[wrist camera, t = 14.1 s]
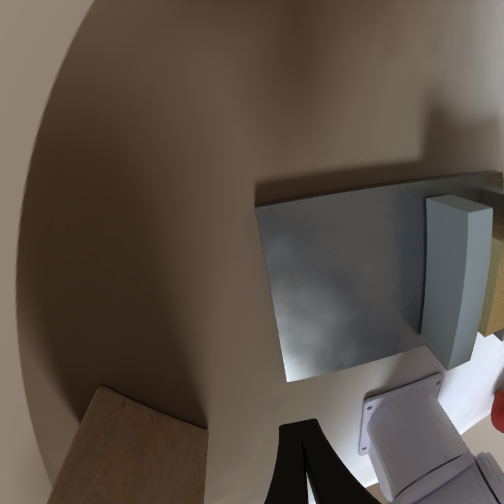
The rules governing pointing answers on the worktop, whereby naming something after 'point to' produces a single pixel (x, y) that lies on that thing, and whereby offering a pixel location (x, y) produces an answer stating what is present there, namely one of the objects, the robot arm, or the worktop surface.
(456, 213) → the block
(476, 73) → the worktop surface
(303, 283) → the vise
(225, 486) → the worktop surface
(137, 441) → the wooden block
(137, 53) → the worktop surface
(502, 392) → the pomegranate
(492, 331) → the brass block
